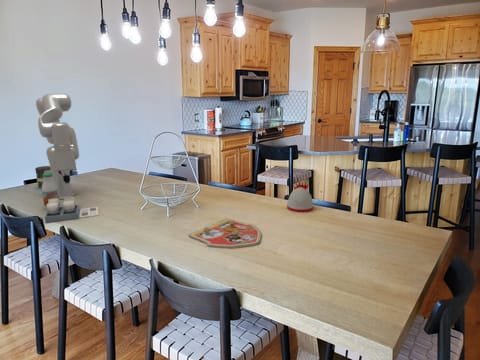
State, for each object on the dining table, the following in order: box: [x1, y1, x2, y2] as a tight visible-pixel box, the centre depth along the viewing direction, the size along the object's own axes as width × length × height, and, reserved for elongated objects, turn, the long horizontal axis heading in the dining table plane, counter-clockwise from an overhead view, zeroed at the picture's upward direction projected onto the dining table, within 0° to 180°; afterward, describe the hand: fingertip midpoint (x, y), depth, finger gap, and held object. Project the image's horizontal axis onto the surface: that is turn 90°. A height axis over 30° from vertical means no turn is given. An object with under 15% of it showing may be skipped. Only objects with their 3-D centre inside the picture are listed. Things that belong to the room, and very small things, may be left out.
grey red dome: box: [286, 181, 314, 213], centre depth 190 cm, size 14×14×15 cm
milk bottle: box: [41, 173, 61, 211], centre depth 195 cm, size 8×8×20 cm
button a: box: [48, 198, 61, 208], centre depth 185 cm, size 5×5×5 cm
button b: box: [63, 196, 76, 205], centre depth 188 cm, size 5×5×5 cm
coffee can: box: [34, 165, 51, 191], centre depth 239 cm, size 10×10×14 cm
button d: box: [62, 200, 75, 212], centre depth 181 cm, size 5×5×5 cm
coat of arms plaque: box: [187, 218, 262, 249], centre depth 157 cm, size 29×30×4 cm
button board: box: [44, 204, 80, 224], centre depth 184 cm, size 15×15×3 cm
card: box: [78, 206, 99, 219], centre depth 189 cm, size 14×9×1 cm, turn 22°
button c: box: [46, 202, 59, 214], centre depth 179 cm, size 5×5×5 cm
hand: (67, 182), depth 185 cm, fingers closed
